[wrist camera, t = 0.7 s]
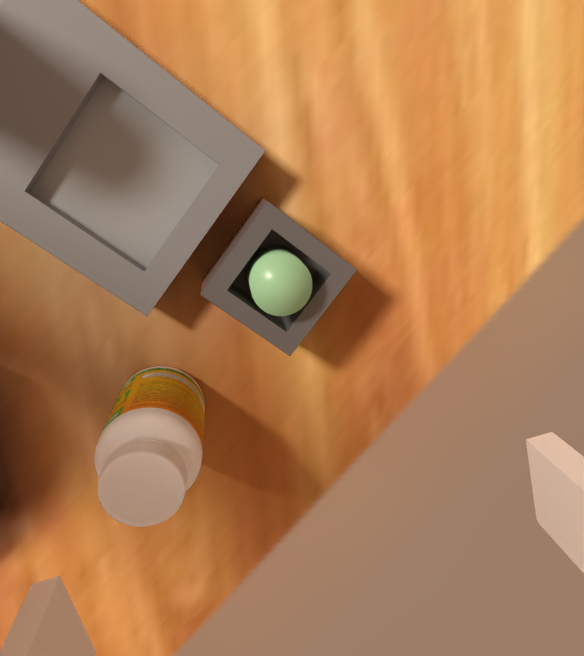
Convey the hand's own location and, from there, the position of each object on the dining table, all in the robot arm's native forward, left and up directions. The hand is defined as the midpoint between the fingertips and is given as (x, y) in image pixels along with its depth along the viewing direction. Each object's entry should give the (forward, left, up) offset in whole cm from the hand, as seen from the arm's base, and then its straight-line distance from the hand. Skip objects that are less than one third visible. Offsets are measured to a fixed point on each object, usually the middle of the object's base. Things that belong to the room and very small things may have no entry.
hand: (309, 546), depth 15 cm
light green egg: (-2, +4, -19) cm, 19 cm away
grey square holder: (-2, +4, -20) cm, 20 cm away
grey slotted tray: (-17, +3, -20) cm, 26 cm away
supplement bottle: (-2, -7, -20) cm, 21 cm away
